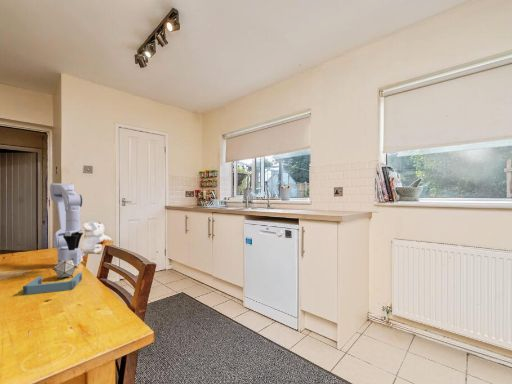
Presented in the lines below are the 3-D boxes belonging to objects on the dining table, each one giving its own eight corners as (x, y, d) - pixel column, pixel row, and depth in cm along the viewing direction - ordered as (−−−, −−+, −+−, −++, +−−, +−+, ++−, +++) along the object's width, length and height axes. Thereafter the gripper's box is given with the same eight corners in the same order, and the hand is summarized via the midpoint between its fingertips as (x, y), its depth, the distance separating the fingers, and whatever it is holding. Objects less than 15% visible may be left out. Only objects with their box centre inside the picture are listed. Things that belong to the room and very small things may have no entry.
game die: (60, 286, 108) (45, 268, 108) (80, 274, 115) (66, 257, 115) (64, 280, 103) (49, 261, 103) (85, 268, 110) (71, 250, 110)
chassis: (82, 279, 106) (82, 272, 106) (72, 289, 95) (72, 281, 95) (38, 284, 101) (38, 276, 101) (22, 295, 90) (22, 286, 90)
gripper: (78, 221, 112) (78, 251, 112) (87, 218, 126) (87, 245, 126) (59, 222, 110) (59, 253, 110) (71, 219, 124) (71, 247, 123)
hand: (73, 249), depth 118 cm, fingers open, 4 cm apart
